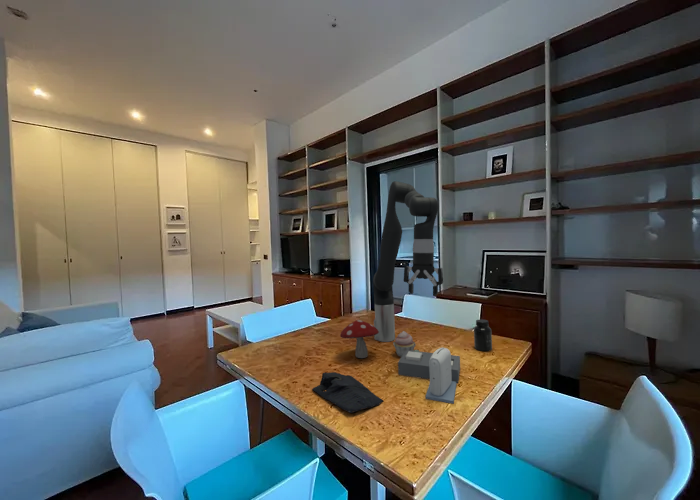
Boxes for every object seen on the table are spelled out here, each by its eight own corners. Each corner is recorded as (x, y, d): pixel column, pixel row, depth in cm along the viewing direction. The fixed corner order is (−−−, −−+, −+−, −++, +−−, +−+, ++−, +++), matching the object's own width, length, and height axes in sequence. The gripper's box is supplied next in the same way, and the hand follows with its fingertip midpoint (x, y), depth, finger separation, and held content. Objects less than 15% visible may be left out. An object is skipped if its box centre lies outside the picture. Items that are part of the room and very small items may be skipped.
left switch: (405, 362, 106) (405, 356, 106) (408, 357, 111) (408, 351, 111) (419, 364, 104) (419, 358, 104) (422, 358, 109) (422, 352, 109)
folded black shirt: (344, 423, 79) (343, 406, 79) (309, 389, 97) (308, 375, 97) (387, 403, 87) (387, 388, 87) (348, 376, 106) (347, 363, 105)
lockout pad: (425, 398, 88) (425, 396, 88) (431, 380, 99) (431, 378, 99) (453, 403, 85) (453, 401, 85) (456, 384, 96) (456, 381, 96)
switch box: (398, 374, 104) (397, 360, 104) (406, 361, 115) (405, 347, 115) (458, 383, 96) (457, 367, 96) (460, 368, 107) (459, 353, 107)
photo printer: (442, 397, 87) (440, 357, 86) (428, 393, 89) (426, 353, 89) (453, 383, 95) (452, 345, 94) (440, 379, 97) (439, 343, 97)
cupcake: (410, 349, 127) (410, 326, 126) (419, 357, 118) (418, 333, 117) (390, 351, 125) (389, 328, 125) (397, 360, 116) (396, 335, 116)
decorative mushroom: (334, 360, 119) (332, 324, 118) (352, 346, 133) (350, 314, 132) (370, 367, 111) (368, 328, 110) (385, 351, 125) (383, 317, 125)
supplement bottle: (488, 345, 127) (487, 318, 127) (494, 351, 120) (494, 323, 120) (472, 345, 128) (471, 318, 127) (477, 351, 121) (476, 323, 120)
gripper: (445, 251, 108) (444, 294, 109) (407, 250, 115) (407, 291, 116) (440, 252, 102) (440, 298, 102) (401, 251, 109) (401, 294, 109)
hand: (422, 294), depth 109 cm, fingers open, 8 cm apart
